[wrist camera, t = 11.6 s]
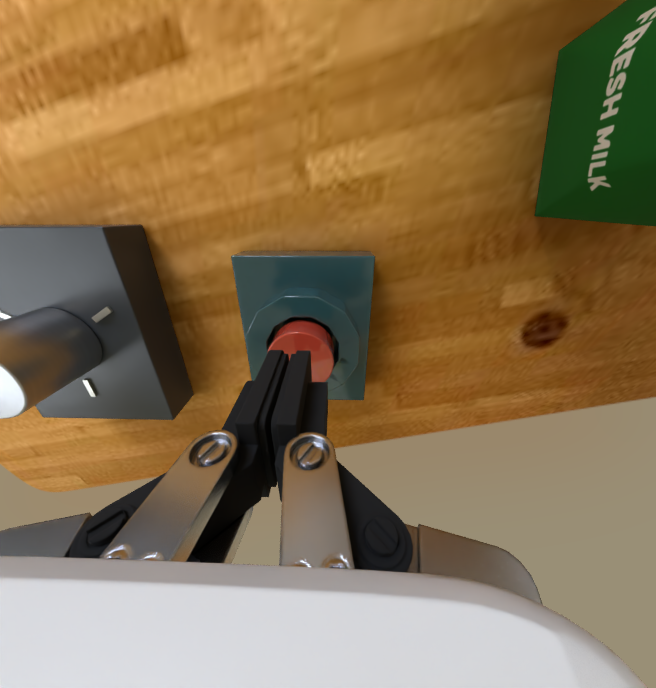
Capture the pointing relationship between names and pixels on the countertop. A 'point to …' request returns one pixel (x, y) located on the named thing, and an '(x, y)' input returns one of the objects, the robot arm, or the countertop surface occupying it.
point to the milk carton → (604, 123)
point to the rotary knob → (42, 357)
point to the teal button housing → (309, 306)
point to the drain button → (307, 346)
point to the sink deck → (99, 315)
